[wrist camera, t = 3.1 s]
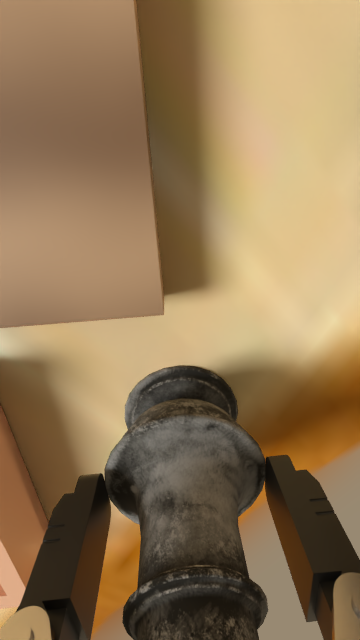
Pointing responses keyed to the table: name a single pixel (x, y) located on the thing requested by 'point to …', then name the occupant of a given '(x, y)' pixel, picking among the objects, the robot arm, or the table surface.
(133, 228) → the bronze block
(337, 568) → the robot arm
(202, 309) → the table surface
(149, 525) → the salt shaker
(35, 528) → the tray
